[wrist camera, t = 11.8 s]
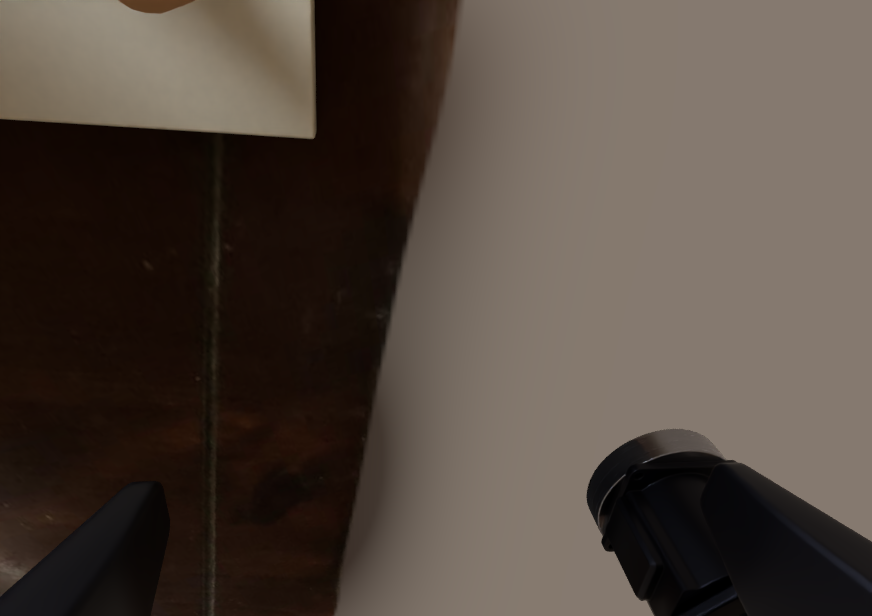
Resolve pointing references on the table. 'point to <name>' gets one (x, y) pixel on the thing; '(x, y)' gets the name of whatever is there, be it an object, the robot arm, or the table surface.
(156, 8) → the action figure
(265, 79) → the display board
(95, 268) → the table surface
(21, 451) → the table surface
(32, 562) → the table surface
